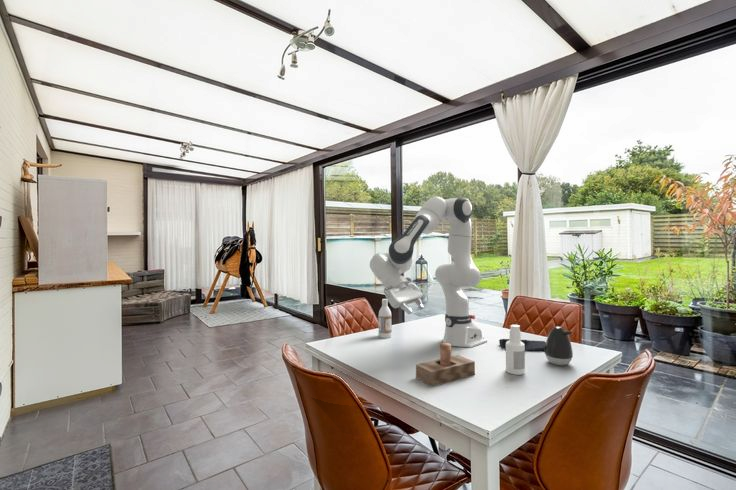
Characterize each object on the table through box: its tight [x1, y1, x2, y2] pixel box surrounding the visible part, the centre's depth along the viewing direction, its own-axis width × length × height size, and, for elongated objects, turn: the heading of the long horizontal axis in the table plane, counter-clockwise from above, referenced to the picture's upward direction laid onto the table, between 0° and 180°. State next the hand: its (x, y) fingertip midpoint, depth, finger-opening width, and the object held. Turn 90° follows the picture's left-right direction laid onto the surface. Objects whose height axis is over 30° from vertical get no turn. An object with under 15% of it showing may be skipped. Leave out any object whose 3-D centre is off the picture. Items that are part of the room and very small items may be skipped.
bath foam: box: [377, 298, 393, 339], centre depth 187 cm, size 7×7×20 cm
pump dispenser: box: [544, 326, 574, 367], centre depth 144 cm, size 10×10×15 cm
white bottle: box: [505, 324, 526, 376], centre depth 136 cm, size 7×7×18 cm
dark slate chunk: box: [498, 338, 546, 352], centre depth 167 cm, size 15×22×5 cm
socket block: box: [415, 354, 476, 387], centre depth 132 cm, size 21×9×5 cm, turn 119°
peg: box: [439, 342, 452, 367], centre depth 132 cm, size 4×4×12 cm
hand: (416, 311), depth 142 cm, fingers open, 8 cm apart
